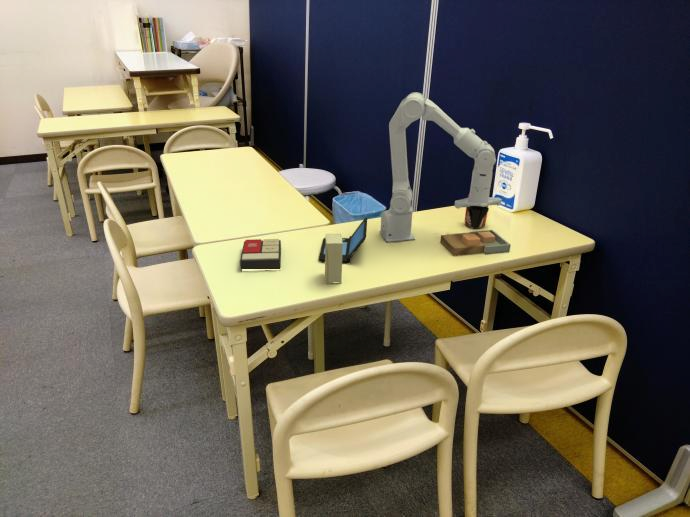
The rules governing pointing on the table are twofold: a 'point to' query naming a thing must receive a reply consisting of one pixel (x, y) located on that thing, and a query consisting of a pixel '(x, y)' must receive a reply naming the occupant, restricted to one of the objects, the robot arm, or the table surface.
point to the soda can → (468, 221)
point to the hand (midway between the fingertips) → (474, 227)
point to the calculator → (261, 254)
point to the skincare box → (333, 257)
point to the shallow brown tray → (460, 245)
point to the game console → (349, 243)
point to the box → (495, 243)
